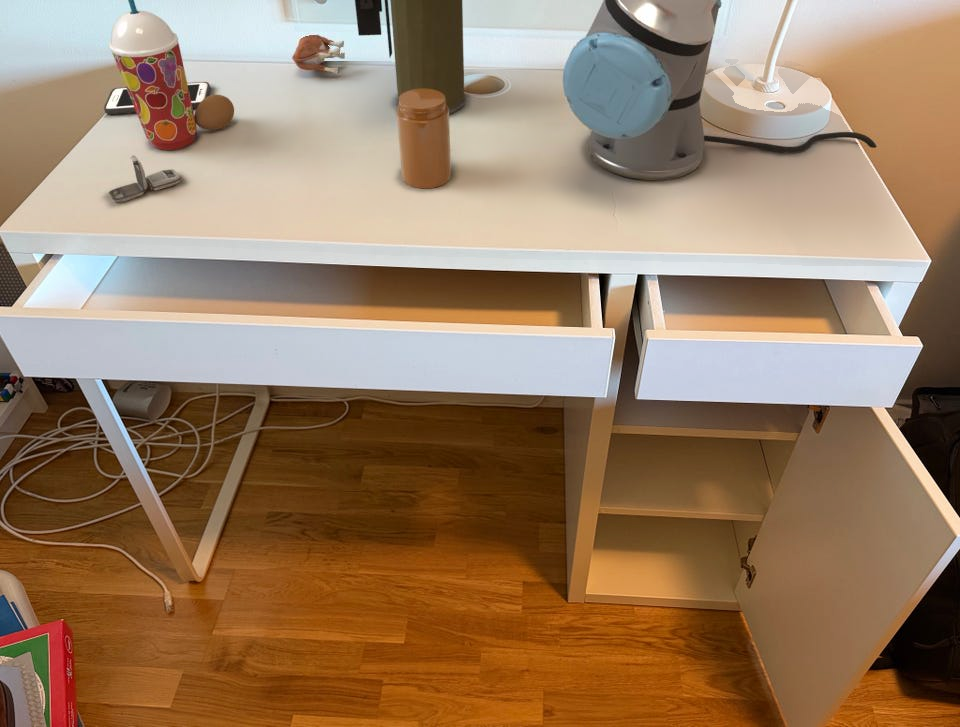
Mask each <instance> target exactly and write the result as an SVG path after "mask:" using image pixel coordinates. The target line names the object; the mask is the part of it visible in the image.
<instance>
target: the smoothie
mask: <svg viewBox="0 0 960 727" xmlns="http://www.w3.org/2000/svg"><path fill="white" fill-rule="evenodd" d="M127 2H128V5H129V8H130V10H131V11H128V12H126V13H124V14H122V15H121V16H119V18H118V19H117V20H116V21H115V23H114V25H113V27H112V29H111V34H110V42H109V43H108V47H109V51H110V52H111V53H112V56H113V58H114V60H115V63H116V66H117V69H118V71H119V74H120V76H121V79H122V81H123V83H124V85H125V86H124V87H126V88H127V90H128V93H129V95H130V98H131V100H132V103H133V105H134V108H135V110H136V112H135V113H136V115H137V117H138V120H139V122H140V125H141V128H142V131H143V132H144V134H145V137H146V139H147V140H148V141H150V142H151V143H152V145H153V147H155V148H157V149H158V150H159V149H160V150H166V151H171V150H172V151H173V150H174V151H175V150H179V149H183V148H186V147H187V146H190V145H191V144H192V143H193V142H194V141H195V139H196V132H197V130H198V126H197V124H196V122H195V117H194V115H195V112H194V108H192V103H191V99H190V94H189V89H188V84H187V83H188V80H187V76H186V71H185V70H186V69H185V67H184V61H183V56H182V52H181V47H180V44H179V37H178V35H177V33H175V32H174V31H173V30H172V29H171V27H170V26H169V25H168V23H167V22H166V21H164V19H163V18H161V17H160V16H158V15H156V14H155V13H152V12H149V11H147V10H146V11H145V10H139V9H138V8H137V5H136V3H135V0H127Z"/></svg>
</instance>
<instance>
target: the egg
mask: <svg viewBox="0 0 960 727" xmlns="http://www.w3.org/2000/svg"><path fill="white" fill-rule="evenodd" d="M234 116H235V107H234V103H233V101H231V100H230V99H229V98H228V97H227V96H225V95H222V94H209V96H208V97H206V98H205V99H203V100H202V101H201V102H200V104H199V105H198V107H197V108H195V110H194V117H195V122H196V127H198V128H201V129H202V130H207V131H215V130H219V129H222V128H225V127H226V126H228V125H229V124H230V123H231V122H232V120H233V118H234Z"/></svg>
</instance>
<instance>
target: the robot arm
mask: <svg viewBox="0 0 960 727" xmlns="http://www.w3.org/2000/svg"><path fill="white" fill-rule="evenodd" d="M354 6H355V14H356V15H355V16H356V23H357V24H356V25H357V33H358V36H382V23H381V12H383V2H382V0H354ZM721 7H722V0H602V3H601V5H600V6H599V9H598V11H597V13H596V15H595V18H594V19H593V22H592V24H591V26H590V28H589V30H588V32H587V33H586V35H585V36H584V37H583V38H582V39H580V40H579V41H577V42H576V44H575V45H574V46H573V47H572V48H571V51H570V53H569V55H568V57H567V59H566V62H565V63H564V64H565V65H564V67H563V73H562V88H563V94H564V96H565V98H566V100H567V102H568V107H569V108H570V110H571V112H572V113H573V115H574V116H575V117H576V118H577V120H578V121H579V122H581V123H582V125H583V126H585V127H586V128H588V129H589V130H590V135H589V139H588V154H589V156H590V157H591V159H592V160H593V161H594V162H595V163H596V164H597V165H598V166H599V167H601V168H603V169H604V170H607V171H608V172H611V173H612V174H616V175H619V176H622V177H625V178H630V179H634V180H641V181H663V180H671V179H676V178H680V177H683V176H686V175H688V174H690V173H692V172H693V171H695V170H697V168H698V167H699V166H700V165H701V163H702V161H703V156H704V152H705V142H707V143H708V142H709V143H717V144H725V145H733V146H740V147H746V148H752V149H761V150H766V151H771V152H779V153H799V152H802V151H806V150H807V149H809V148H810V147H811V146H812V145H813V144H814V143H815V142H817V141H821V140H831V139H842V138H843V139H845V138H849V139H856V140H859V141H862V142H863V143H865V144H866V145H867V146H868V147H869V148H872V149H875V148H877V144H876V143H875V142H874V140H873V139H872V138H870V136H867V135H865V134H864V133H863V134H862V133H860V132H854V131H837V132H828V133H820V134H814V135H813V136H811V137H810V138H809V139H808V140H807V141H806V142H804V143H802V144H800V145H796V146H795V145H794V146H784V145H777V144H771V143H766V142H765V143H764V142H760V141H759V142H757V141H750V140H745V139H744V140H743V139H737V138H732V137H722V136H714V135H705V134H704V127H703V126H704V125H703V119H702V111H701V97H702V92H703V87H704V82H705V78H706V72H707V68H708V63H709V58H710V53H711V48H712V43H713V38H714V35H715V31H716V24H717V19H718V16H719V9H720V8H721Z"/></svg>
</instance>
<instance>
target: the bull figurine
mask: <svg viewBox="0 0 960 727" xmlns="http://www.w3.org/2000/svg"><path fill="white" fill-rule="evenodd" d="M297 40H298V39H297ZM297 40H296V45H297V46H296V49H295V51H294V53H293V54H292V56H291V59H292V61H293V62H294V63H295V65H296V66H297V67H298V68H299V69H301V70H303V71H320V72H330V73H333V74H339V71H340V67H339V66H338V67H337V66H336V67H328V66H325V65H323V63H324V62H325V59H334V58H338V59H341V60H344V59H346V58H345V57H346V56H345V55H346V54H345V52H344V53H343V52H341V48H344V45H345V41H344V40H341V41H337V42H335V41H334V40H332V39H328V38H326V37H325V36H321V35H320V34H317V35H309V36H305V37H303V38H301V39H299V40H298V41H297ZM328 45H329V46H330V47H331V46H334V47H336V48H334V49H331V48H330V47H329V46H328ZM340 53H341V54H340Z"/></svg>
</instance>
